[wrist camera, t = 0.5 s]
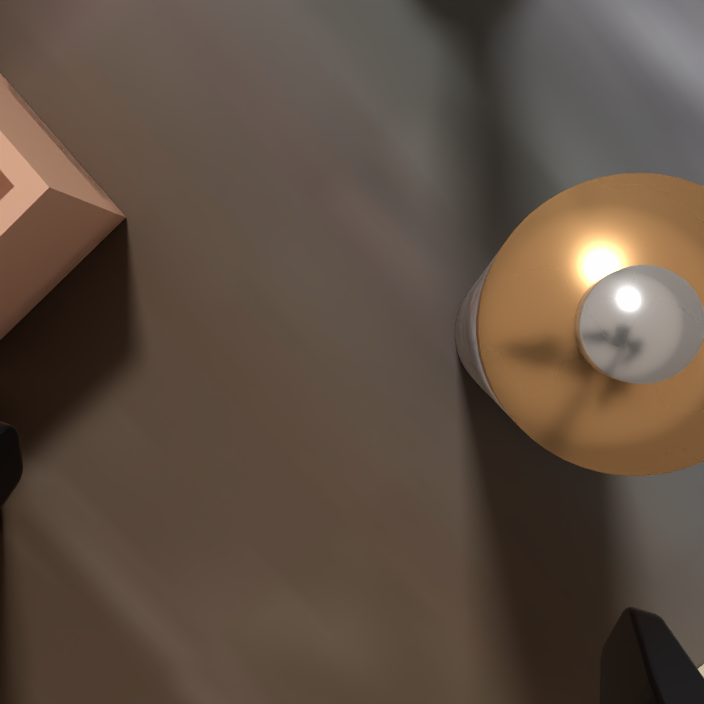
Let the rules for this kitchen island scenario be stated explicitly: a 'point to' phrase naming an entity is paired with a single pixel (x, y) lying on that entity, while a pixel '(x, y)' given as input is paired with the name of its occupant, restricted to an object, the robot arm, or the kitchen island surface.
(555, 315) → the lidded storage canister
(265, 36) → the kitchen island surface
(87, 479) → the kitchen island surface
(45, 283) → the bin
